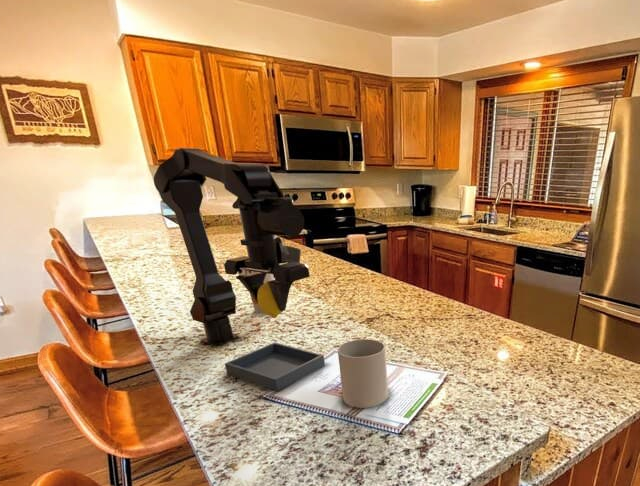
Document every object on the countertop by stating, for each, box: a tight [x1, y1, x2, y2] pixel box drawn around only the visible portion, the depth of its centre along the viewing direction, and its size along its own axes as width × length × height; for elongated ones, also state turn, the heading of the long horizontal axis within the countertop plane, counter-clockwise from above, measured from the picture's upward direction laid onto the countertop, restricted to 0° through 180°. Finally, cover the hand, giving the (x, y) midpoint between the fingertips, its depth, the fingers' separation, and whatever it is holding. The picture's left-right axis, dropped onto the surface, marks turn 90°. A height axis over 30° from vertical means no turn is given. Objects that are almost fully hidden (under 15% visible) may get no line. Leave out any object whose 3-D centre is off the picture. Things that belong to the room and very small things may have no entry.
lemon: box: [257, 281, 284, 319], centre depth 90 cm, size 6×6×8 cm
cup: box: [337, 338, 389, 409], centre depth 78 cm, size 8×8×10 cm
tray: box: [224, 342, 326, 392], centre depth 91 cm, size 15×13×2 cm
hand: (273, 309), depth 91 cm, fingers closed on lemon, 5 cm apart
